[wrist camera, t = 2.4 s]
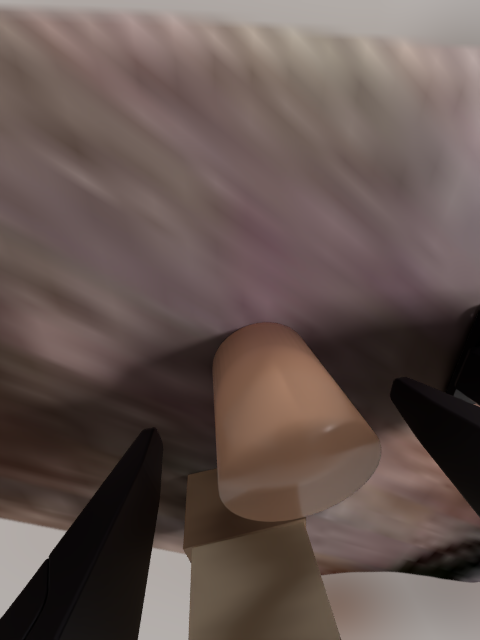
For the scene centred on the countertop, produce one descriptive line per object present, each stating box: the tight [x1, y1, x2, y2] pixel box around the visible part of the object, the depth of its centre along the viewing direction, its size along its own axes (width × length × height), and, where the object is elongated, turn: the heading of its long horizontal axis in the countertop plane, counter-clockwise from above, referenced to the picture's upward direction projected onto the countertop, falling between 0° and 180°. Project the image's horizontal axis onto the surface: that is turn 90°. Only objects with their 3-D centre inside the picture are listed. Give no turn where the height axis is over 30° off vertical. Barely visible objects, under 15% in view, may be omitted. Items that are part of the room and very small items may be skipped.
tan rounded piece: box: [212, 322, 381, 522], centre depth 8 cm, size 5×5×5 cm
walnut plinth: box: [183, 468, 306, 562], centre depth 14 cm, size 6×6×4 cm
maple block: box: [189, 522, 341, 640], centre depth 10 cm, size 6×6×4 cm
